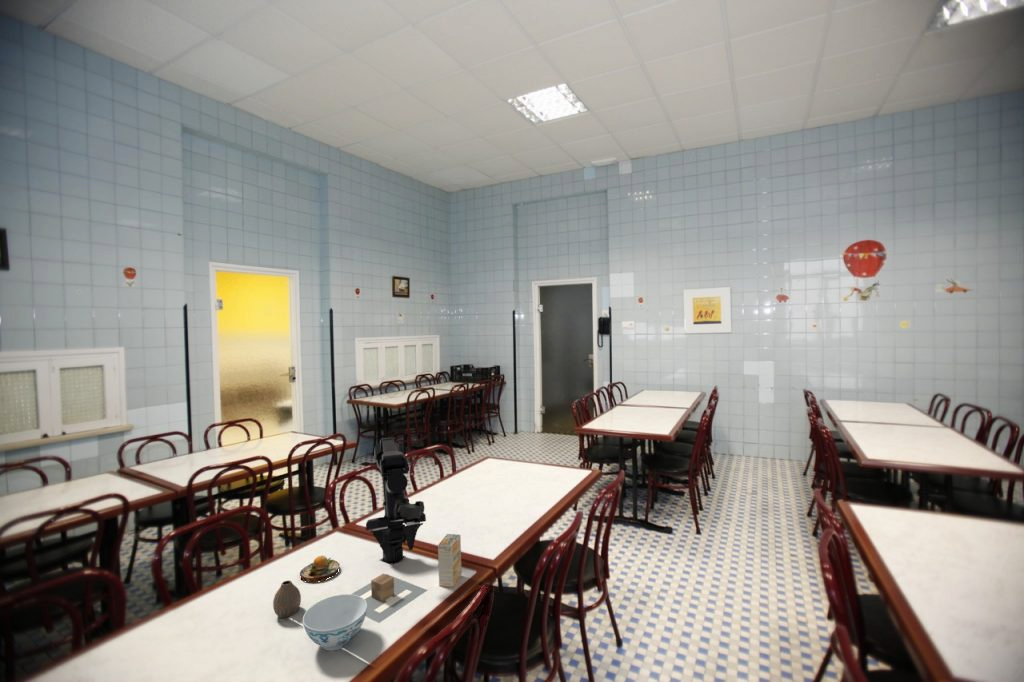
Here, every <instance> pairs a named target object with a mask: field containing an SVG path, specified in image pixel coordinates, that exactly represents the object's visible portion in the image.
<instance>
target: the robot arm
mask: <svg viewBox="0 0 1024 682" xmlns="http://www.w3.org/2000/svg"><path fill="white" fill-rule="evenodd" d="M399 445H400V444H399V443H398V442H396V438H395V437H385V438H384V437H383V438H381V439H379V443H377V444H376V445H374V448H373V449H374V450H373V451H374V452H373V453H374V461H376V467H377V468H378V470H379V471H380V476H381V478H382V492H383V493H382V494H383V503H382V505H383V506H384V515H383V517H376V518H370V519H367V521H366V523H365V531H369V533H370V534H372V535H373V537H374V538H375V540H376V542H377V543H378V544H379V547H380V548H381V550H382V557H381V558H380V559H379V561H380V562H383V563H385V564H388V565H391V566H393V565H395V564H397V563H400V562H402V560H404V559H406V558H407V556H405V555H404V547H403V543H404V544H405V543H406V544H407V547H408V551H413V549H414V544H415V542H416V541H415V540H416V536H417V533H418V530H419V528H420V527H421V526H423V525H424V522H427V517H426V514H425V503H424V501H421V500H417V501H415V503H410V500H409V498H408V497H406V491H405V490H406V488H407V486H408V484H409V483H408V482H409V481H408V478H407V476H406V475H408V474H409V472H410V465H409V460H408V459H407V457H406V456H404V453H403V452H402V451H400V446H399Z"/></svg>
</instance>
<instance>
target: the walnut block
mask: <svg viewBox="0 0 1024 682" xmlns="http://www.w3.org/2000/svg"><path fill="white" fill-rule="evenodd" d="M386 574H387V573H384V572H383V573H381V574H380V575H378V576H376V577H374V578H373V579H371V580H370V583H371V592H372V598H374V599H376V600H378V601H381V602H383V601H385V600H386V599H388V598H390V597H391V596H393V595H394V577H395V576H393V577H391V576H392V575H390V574H388V575H386ZM389 575H390V576H389Z"/></svg>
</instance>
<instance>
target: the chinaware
mask: <svg viewBox="0 0 1024 682" xmlns="http://www.w3.org/2000/svg"><path fill="white" fill-rule="evenodd" d="M366 611H367V602H366V601H365V599H364V598H362V597H360V596H357V595H352V593H350V594H348V593H347V594H343V593H342V594H337V595H333V596H329V597H326V598H324V599H321V600H319V601H317V602H316V603H314V604H313V605H312V606H310V607H309V608H308V609H307V610H306V611H305V613H304V615H303V616H302V624H303V628H304V630H305V632H306V634H307V636H308V637H309V639H310V640H311V641H312V642H313V643H315V644H316V645H318V646H320V647H322V648H323V649H324V650H327V651H329V652H330V651H337V650H341V649H343V648H344V645H345V644H347V643H349V641H351V639H353V638H354V637H355V635H357V634H358V632H359V630H360V629H361V627H362V626H363V624H364V621H365V619H366V616H365V615H366Z"/></svg>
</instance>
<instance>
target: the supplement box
mask: <svg viewBox="0 0 1024 682" xmlns="http://www.w3.org/2000/svg"><path fill="white" fill-rule="evenodd" d="M461 543H462V542H461V534H457V533H456V534H455V533H454V534H453V533H447V534H446V535H445V536H444V537H443V539H442V540H441V541H440V542H439V544H438V545H437V548H438V549H437V553H438V554H437V555H438V556H437V557H438V558H437V559H438V561H437V562H438V587H442V588H443V587H444V588H454V587H455V585H456V583H457V582H458V580H459V579H460V577H462V552H461V551H462V546H461V545H462V544H461Z"/></svg>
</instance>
